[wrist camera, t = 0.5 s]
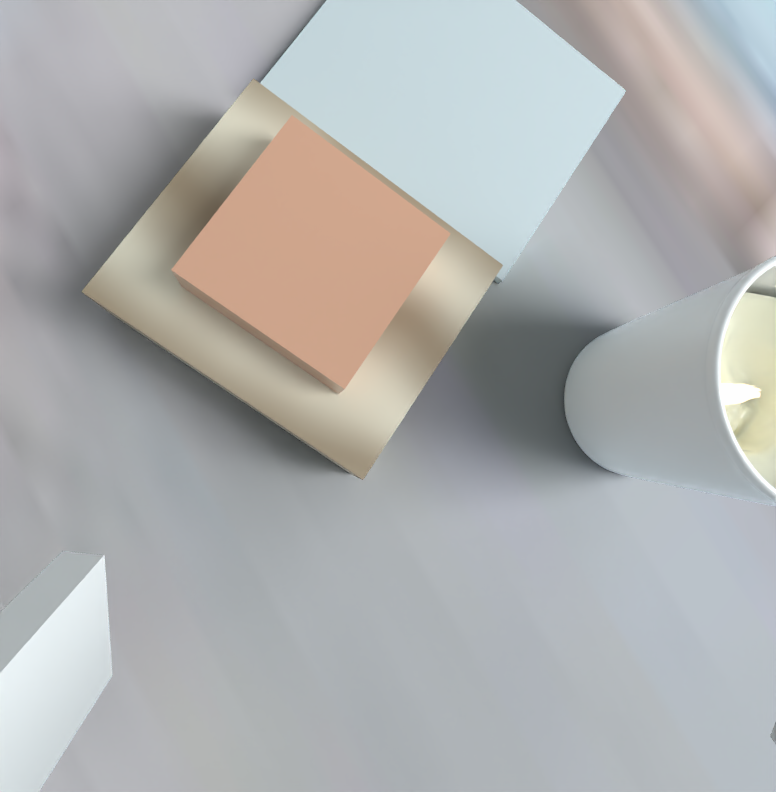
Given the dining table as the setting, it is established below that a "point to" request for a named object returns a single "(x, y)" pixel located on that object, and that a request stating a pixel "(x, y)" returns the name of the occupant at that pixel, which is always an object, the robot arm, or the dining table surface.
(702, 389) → the candle holder
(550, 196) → the rubber mat
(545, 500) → the dining table surface
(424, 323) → the birch board
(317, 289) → the terracotta tile
